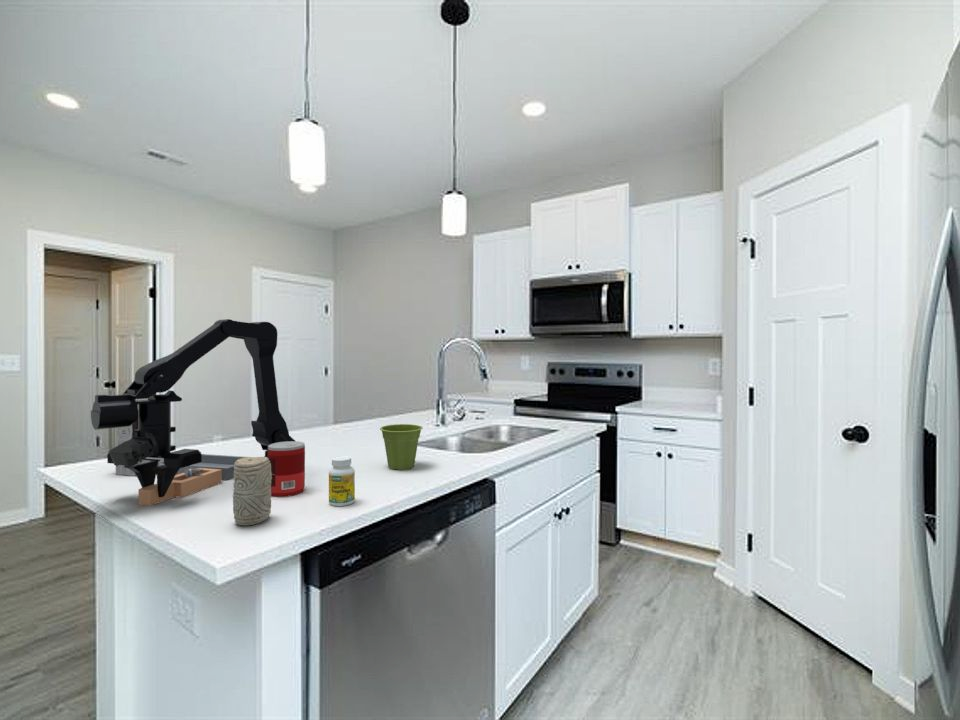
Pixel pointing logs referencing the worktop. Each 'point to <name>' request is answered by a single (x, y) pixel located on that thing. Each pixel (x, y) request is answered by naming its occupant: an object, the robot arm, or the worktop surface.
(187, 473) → the post
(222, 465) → the tray
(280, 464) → the canned food
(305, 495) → the worktop surface
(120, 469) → the cookie box
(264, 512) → the carving
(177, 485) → the wooden slotted key block
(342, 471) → the supplement bottle
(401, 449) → the plant pot
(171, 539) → the worktop surface
